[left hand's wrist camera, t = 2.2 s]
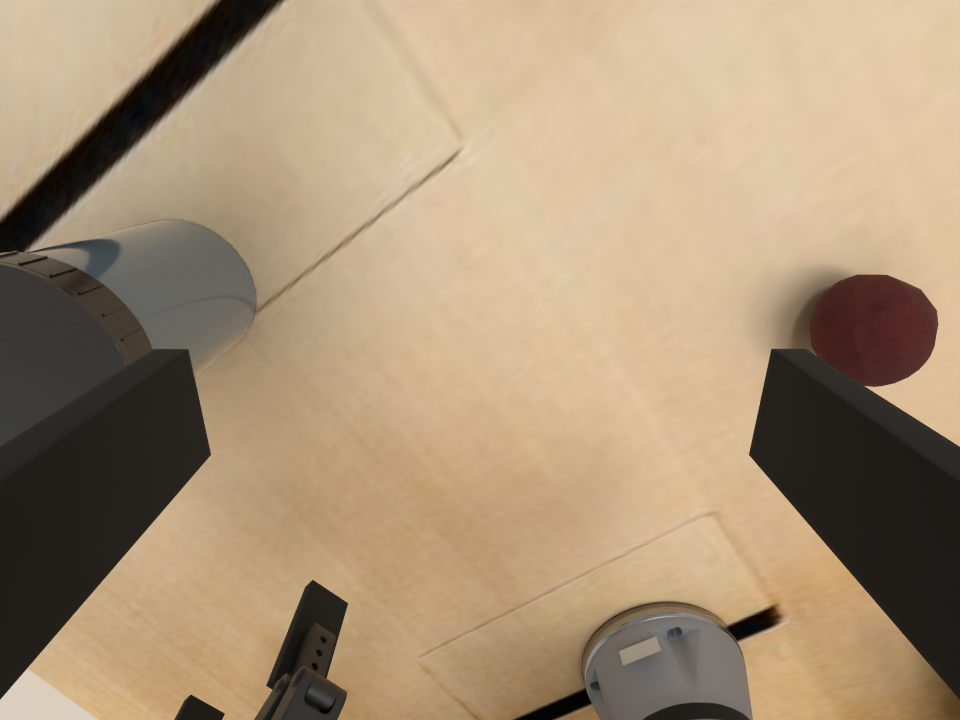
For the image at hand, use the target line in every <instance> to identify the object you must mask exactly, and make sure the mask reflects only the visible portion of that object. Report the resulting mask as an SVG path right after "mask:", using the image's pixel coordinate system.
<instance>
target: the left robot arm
mask: <svg viewBox="0 0 960 720" xmlns="http://www.w3.org/2000/svg"><path fill="white" fill-rule="evenodd" d="M210 455H211V453H210V448H209V443H208V439H207V434H206V429H205V425H204V420H203V415H202V410H201V406H200V401H199V396H198V392H197V387H196V382H195V377H194V373H193V368H192V363H191V359H190V354H189V349H154V350H152V351H150V352H149V353H147V354H146V355H144V356H143V357H141V358H139V359H138V360H136V361H135V362H133V363H132V364H130V365H128V366H127V367H125V368H124V369H122V370H121V371H119V372H117V373H116V374H114V375H113V376H111V377H110V378H108V379H106V380H105V381H103V382H102V383H100V384H98V385H97V386H95V387H94V388H92V389H91V390H89V391H87V392H86V393H84V394H83V395H81V396H80V397H78V398H76V399H75V400H73V401H72V402H70V403H69V404H67V405H65V406H64V407H62V408H61V409H59V410H58V411H56V412H54V413H53V414H51V415H50V416H48V417H46V418H45V419H43V420H42V421H40V422H39V423H37V424H35V425H34V426H32V427H31V428H29V429H28V430H26V431H24V432H23V433H21V434H20V435H18V436H17V437H15V438H13V439H12V440H10V441H9V442H7V443H6V444H4V445H2V446H1V447H0V699H1V698H2V697H3V696H4V695H5V693H6V692H7V691H8V690H9V689H10V687H11V686H12V685H13V684H14V683H15V682H16V681H17V679H18V678H19V677H20V676H21V675H22V674H23V672H24V671H25V670H26V669H27V668H28V667H29V665H30V664H31V663H32V662H33V661H34V660H35V659H36V657H37V656H38V655H39V654H40V653H41V652H42V650H43V649H44V648H45V647H46V646H47V645H48V643H49V642H50V641H51V640H52V639H53V638H54V636H55V635H56V634H57V633H58V632H59V631H60V629H61V628H62V627H63V626H64V625H65V624H66V623H67V621H68V620H69V619H70V618H71V617H72V616H73V614H74V613H75V612H76V611H77V610H78V609H79V607H80V606H81V605H82V604H83V603H84V602H85V600H86V599H87V598H88V597H89V596H90V595H91V593H92V592H93V591H94V590H95V589H96V588H97V587H98V585H99V584H100V583H101V582H102V581H103V580H104V578H105V577H106V576H107V575H108V574H109V573H110V571H111V570H112V569H113V568H114V567H115V566H116V564H117V563H118V562H119V561H120V560H121V559H122V557H123V556H124V555H125V554H126V553H127V552H128V551H129V549H130V548H131V547H132V546H133V545H134V544H135V542H136V541H137V540H138V539H139V538H140V537H141V535H142V534H143V533H144V532H145V531H146V530H147V528H148V527H149V526H150V525H151V524H152V523H153V521H154V520H155V519H156V518H157V517H158V516H159V515H160V513H161V512H162V511H163V510H164V509H165V508H166V506H167V505H168V504H169V503H170V502H171V501H172V499H173V498H174V497H175V496H176V495H177V494H178V492H179V491H180V490H181V489H182V488H183V487H184V485H185V484H186V483H187V482H188V481H189V480H190V479H191V477H192V476H193V475H194V474H195V473H196V472H197V470H198V469H199V468H200V467H201V466H202V465H203V463H204V462H205V461H206V460H207V459H208V458H209V456H210ZM749 455H750V456H751V458H752V459H753V460H754V461H755V462H756V463H757V465H758V466H759V467H760V468H761V469H762V470H763V472H764V473H765V474H766V475H767V476H768V477H769V479H770V480H771V481H772V482H773V483H774V484H775V485H776V487H777V488H778V489H779V490H780V491H781V492H782V494H783V495H784V496H785V497H786V498H787V499H788V501H789V502H790V503H791V504H792V505H793V506H794V508H795V509H796V510H797V511H798V512H799V513H800V515H801V516H802V517H803V518H804V519H805V520H806V521H807V523H808V524H809V525H810V526H811V527H812V528H813V530H814V531H815V532H816V533H817V534H818V535H819V537H820V538H821V539H822V540H823V541H824V542H825V544H826V545H827V546H828V547H829V548H830V549H831V551H832V552H833V553H834V554H835V555H836V556H837V557H838V559H839V560H840V561H841V562H842V563H843V564H844V566H845V567H846V568H847V569H848V570H849V571H850V573H851V574H852V575H853V576H854V577H855V578H856V580H857V581H858V582H859V583H860V584H861V585H862V587H863V588H864V589H865V590H866V591H867V592H868V593H869V595H870V596H871V597H872V598H873V599H874V600H875V602H876V603H877V604H878V605H879V606H880V607H881V609H882V610H883V611H884V612H885V613H886V614H887V616H888V617H889V618H890V619H891V620H892V621H893V623H894V624H895V625H896V626H897V627H898V628H899V629H900V631H901V632H902V633H903V634H904V635H905V636H906V638H907V639H908V640H909V641H910V642H911V643H912V645H913V646H914V647H915V648H916V649H917V650H918V652H919V653H920V654H921V655H922V656H923V657H924V659H925V660H926V661H927V662H928V663H929V664H930V665H931V667H932V668H933V669H934V670H935V671H936V672H937V674H938V675H939V676H940V677H941V678H942V679H943V681H944V682H945V683H946V684H947V685H948V686H949V688H950V689H951V690H952V691H953V692H954V693H955V695H956V696H957V697H958V698H959V699H960V447H959V446H958V445H956V444H954V443H953V442H951V441H950V440H948V439H947V438H945V437H943V436H942V435H940V434H939V433H937V432H936V431H934V430H932V429H931V428H929V427H928V426H926V425H925V424H923V423H921V422H920V421H918V420H917V419H915V418H914V417H912V416H910V415H909V414H907V413H906V412H904V411H902V410H901V409H899V408H898V407H896V406H895V405H893V404H891V403H890V402H888V401H887V400H885V399H884V398H882V397H880V396H879V395H877V394H876V393H874V392H873V391H871V390H869V389H868V388H866V387H865V386H863V385H862V384H860V383H858V382H857V381H855V380H854V379H852V378H850V377H849V376H847V375H846V374H844V373H843V372H841V371H839V370H838V369H836V368H835V367H833V366H832V365H830V364H828V363H827V362H825V361H824V360H822V359H821V358H819V357H817V356H816V355H814V354H813V353H811V352H810V351H808V350H806V349H771V354H770V359H769V363H768V368H767V373H766V377H765V382H764V387H763V392H762V396H761V401H760V406H759V410H758V415H757V420H756V425H755V429H754V434H753V439H752V443H751V448H750V453H749Z"/></svg>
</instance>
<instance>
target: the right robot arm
mask: <svg viewBox="0 0 960 720" xmlns="http://www.w3.org/2000/svg"><path fill="white" fill-rule="evenodd" d="M347 605H348V603H347V602H345V601H344V600H342V599H341V598H339V597H338V596H336V595H335V594H333V593H332V592H330V591H329V590H327V589H326V588H324V587H323V586H321V585H320V584H318V583H317V582H315V581H314V580H312V581H311V582H310V583H309V584H308V585H307V586H306V587H305V589H304V592H303V594H302V597H301V599H300V602H299V604H298V607H297V610H296V612H295V615H294V617H293V620H292V622H291V625H290V627H289V630H288V632H287V635H286V637H285V640H284V642H283V645H282V647H281V650H280V652H279V655H278V658H277V660H276V663H275V665H274V668H273V670H272V673H271V675H270V678H269V680H268V683H267V685H266V686H268V687H269V688H271V689H273V690H272V692H271V694H270V695H269V697H268V698H267V700H266V702H265V703H264V705H263V707H262V708H261V710H260V711H259V713H258V715H257V716H256V718H255V719H254V720H337V719H338V717H339V714H340V712H341V710H342V708H343V705H344V703H345V700H346V696H347V692H346V691H345V690H343V689H342V688H340V687H338V686H337V685H335V684H334V683H332V682H331V681H329V680H327V679H326V678H327V675H328V671H329V668H330V664H331V661H332V657H333V654H334V650H335V647H336V643H337V640H338V637H339V633H340V630H341V626H342V623H343V619H344V616H345V612H346V609H347ZM582 670H583V676H584V681H585V686H586V690H587V694H588V696H589V698H590V700H591V702H592V704H593V706H594V708H595V710H596V711H597V713H598V715H599V717H600V718H601V720H753V717H752V710H751V703H750V696H749V689H748V681H747V674H746V667H745V662H744V657H743V654H742V651H741V649H740V647H739V645H738V643H737V641H736V639H735V637H734V635H733V633H732V631H731V630H730V628H729V627H728V626H727V625H726V624H725V623H724V622H723V621H722V620H721V619H720V618H719V617H717V616H716V615H714V614H712V613H711V612H709V611H707V610H704V609H702V608H699V607H696V606H692V605H687V604H680V603H658V604H650V605H646V606H641V607H638V608H635V609H632V610H629V611H627V612H624V613H622V614H620V615H618V616H617V617H615V618H613V619H612V620H610V621H609V622H607V623H606V624H605V625H603V626H602V627H601V628H600V629H599V630H598V631H597V632H596V633H595V635H594V636H593V637H592V638H591V640H590V641H589V643H588V645H587V647H586V649H585V652H584V656H583V661H582ZM223 717H224V713H223V712H221V711H219V710H217V709H216V708H214V707H212V706H210V705H208V704H207V703H205V702H203V701H201V700H200V699H198V698H196V697H194V696H192V695H190V696H189V697H188V698H187V699H186V700H185V701H184V703H183V705H182V706H181V708H180V710H179V712H178V714H177V716H176V718H175V720H222V719H223Z"/></svg>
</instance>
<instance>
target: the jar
mask: <svg viewBox="0 0 960 720" xmlns="http://www.w3.org/2000/svg"><path fill="white" fill-rule="evenodd" d="M27 253H30V254H37V255H41V256H45V255H46V256H48V257H50V258H54V259H56V260H59V261H62V262H64V263H67V264H70V265H72V266H74V267H77V268H78V269H80V270H82V271H84V272H86V273H87V274H89V275H90V276H92V277H93V278H95V279H97V280H98V281H100V282H101V283H103V284H104V285H105V286H106V287H107V288H109V289H110V290H111V291H112V292H113V293H114V294H115V295H116V296H118V297H119V298H120V299H121V300H122V301H123V302H124V303H125V304H126V306H127V307H128V308H129V309H130V310H131V312H132V313H133V314H134V315H135V317H136V318H137V320H138V321H139V323H140V324H141V326H142V327H143V329H144V331H145V333H146V335H147V337H148V339H149V341H150V343H151V346H152V348H153V350H154V349H189V354H190V359H191V363H192V368H193V373H194V377H197V376H198V375H199V374H200V373H201V372H203V371H204V370H205V369H206V368H207V367H209V366H210V365H211V364H212V363H213V362H215V361H216V360H217V359H218V358H220V357H221V356H222V355H223V354H224V353H226V352H227V351H228V350H229V349H230V348H232V347H233V346H234V345H235V344H236V343H238V342H239V341H240V340H241V339H242V338H243V337H244V336H245V334H246V333H247V331H248V330H249V328H250V326H251V324H252V322H253V319H254V315H255V310H256V292H255V286H254V283H253V279H252V276H251V274H250V272H249V269H248V268H247V266H246V264H245V262H244V261H243V259H242V258H241V256H240V255H239V254H238V252H237V251H236V250H235V249H234V248H233V247H232V246H231V245H230V244H229V243H228V242H227V241H225V240H224V239H223V238H222V237H220V236H219V235H217V234H216V233H215V232H213V231H211V230H209V229H207V228H205V227H203V226H200V225H198V224H195V223H191V222H188V221H182V220H160V221H155V222H151V223H147V224H142V225H138V226H134V227H130V228H126V229H122V230H118V231H114V232H110V233H105V234H101V235H97V236H93V237H89V238H85V239H81V240H77V241H73V242H69V243H64V244H60V245H56V246H52V247H48V248H44V249H40V250H36V251H32V252H27Z"/></svg>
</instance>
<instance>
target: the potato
mask: <svg viewBox="0 0 960 720" xmlns="http://www.w3.org/2000/svg"><path fill="white" fill-rule="evenodd" d="M937 328H938V318H937V310H936V309H935V307H934V306H933V305H932V304H931V302H930V301H929V300H928V298H927V297H926V296H925V294H924V293H923V292H922V290H921V289H919V288H916V287H914V286H912V285H910V284H908V283H906V282H903V281H901V280H898V279H896V278H893V277H891V276H888V275H855V276H853V277H850V278H847V279H844V280H841V281H839V282H837V283H836V284H835V285H833V286H832V287H831V288H830V289H829V290H827V291H826V292H825V293H824V295H823V296H822V298H821V299H820V301H819V302H818V304H817V306H816V309H815V313H814V316H813V320H812V323H811V327H810V329H811V344H812V347H813V349H814V351H815V353H816V354H817V356H818V357H819V358H821V359H822V360H824V361H825V362H827V363H828V364H830V365H832V366H833V367H835V368H836V369H838V370H839V371H841V372H843V373H844V374H846V375H847V376H849V377H850V378H852V379H854V380H855V381H857V382H858V383H860V384H862V385H863V386H871V387H876V386H884V385H888V384H893V383H896V382H898V381H901V380H903V379H905V378H908V377H909V376H911V375H912V374H913V373H915V372H916V371H918V370H919V369H920V368H921V367H922V366H923V365H924V364H925V363H926V361H927V360H928V359H929V357H930V356H931V353H932V351H933V348H934V346H935V340H936V333H937Z"/></svg>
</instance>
